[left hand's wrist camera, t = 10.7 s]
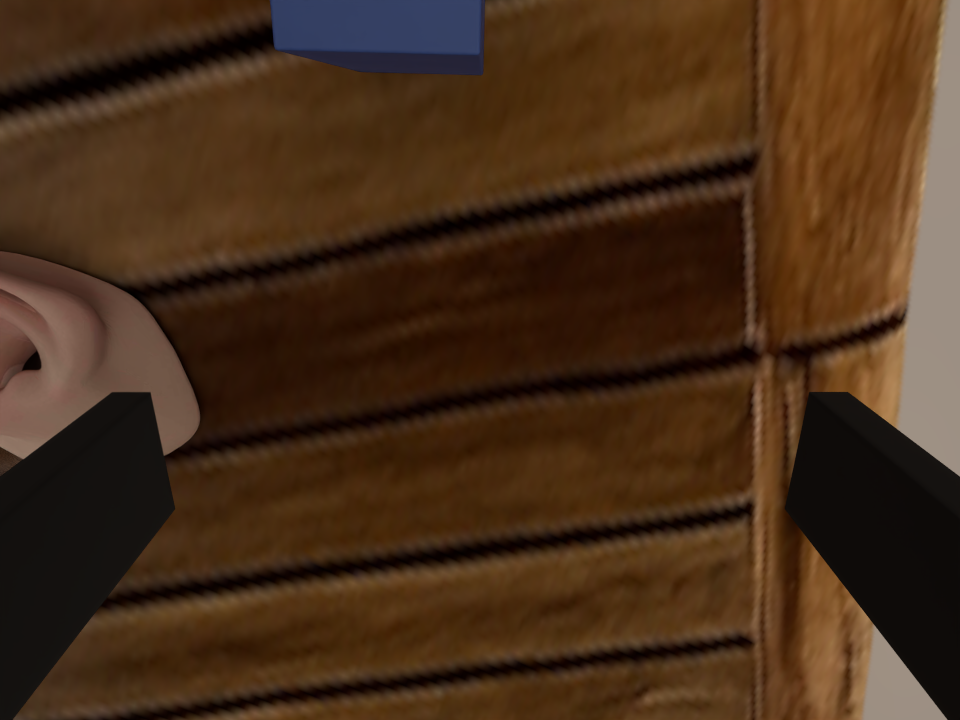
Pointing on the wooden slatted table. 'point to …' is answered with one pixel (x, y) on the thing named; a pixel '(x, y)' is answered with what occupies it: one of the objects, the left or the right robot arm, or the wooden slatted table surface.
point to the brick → (384, 34)
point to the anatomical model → (80, 355)
